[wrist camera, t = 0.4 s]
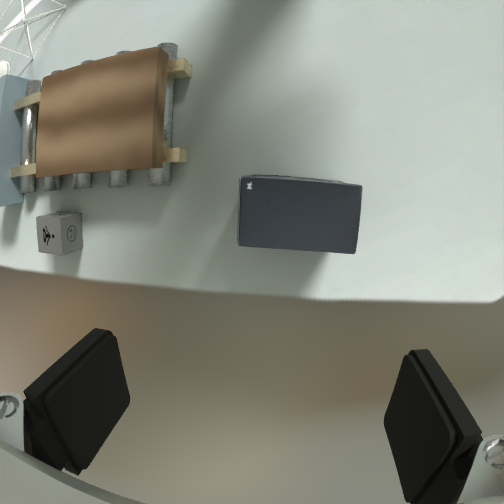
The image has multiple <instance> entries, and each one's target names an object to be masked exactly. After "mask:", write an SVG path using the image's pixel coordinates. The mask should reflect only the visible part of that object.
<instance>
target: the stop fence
mask: <svg viewBox="0 0 504 504" xmlns="http://www.w3.org/2000/svg"><path fill="white" fill-rule="evenodd" d="M28 81H30V80H28V79H24V78H20V77H16V76H12V75H8V74H6V75H4V76H2V77H0V207H1V206H6V205H11V204H16V203H22V202H23V193H20V177H12V178H10V168H11V167H16V166H20V148H21V130H22V118H23V112H22V111H14V104H15V101H17V100H19V99H21V98H24V97H25V93H26V86H27V82H28Z"/></svg>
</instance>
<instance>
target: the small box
mask: <svg viewBox="0 0 504 504" xmlns="http://www.w3.org/2000/svg"><path fill="white" fill-rule="evenodd" d="M239 182H240V185H239V214H238V238H237V241H238V242H237V244H238V246H247V247H261V248H277V249H292V250H306V251H320V252H333V253H345V254H355V252H356V247H357V240H358V231H359V222H360V212H361V200H362V186H361V185H356V184H347V183H344V182H341V181H333V180H324V179H313V178H302V177H290V176H278V175H251V176H242V177H241V178H240V179H239Z"/></svg>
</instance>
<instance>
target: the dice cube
mask: <svg viewBox="0 0 504 504" xmlns="http://www.w3.org/2000/svg"><path fill="white" fill-rule="evenodd" d="M36 222H37V237H38V248H39V252H41V253H48V254H55V255H65V254H67V253H70V252H72V251H75V250H77V249H79V248H82V247H83V237H82V213H71V212H56V213H51V214H47V215H43V216H39V217H36Z"/></svg>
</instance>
